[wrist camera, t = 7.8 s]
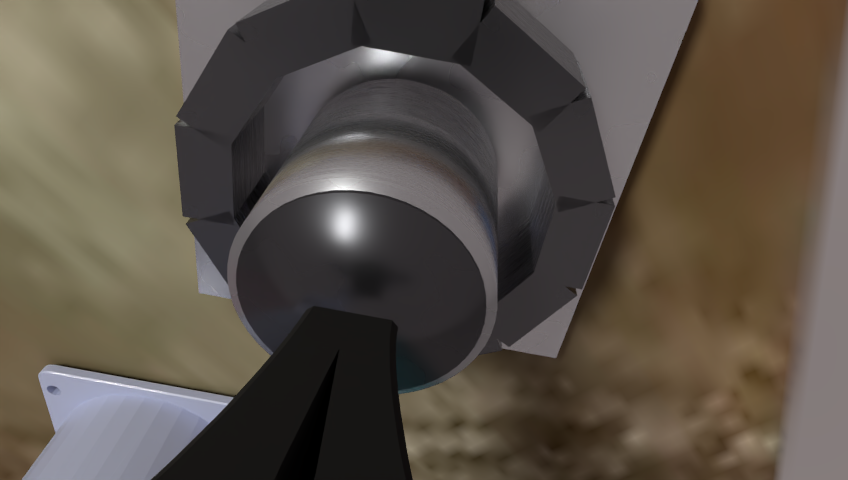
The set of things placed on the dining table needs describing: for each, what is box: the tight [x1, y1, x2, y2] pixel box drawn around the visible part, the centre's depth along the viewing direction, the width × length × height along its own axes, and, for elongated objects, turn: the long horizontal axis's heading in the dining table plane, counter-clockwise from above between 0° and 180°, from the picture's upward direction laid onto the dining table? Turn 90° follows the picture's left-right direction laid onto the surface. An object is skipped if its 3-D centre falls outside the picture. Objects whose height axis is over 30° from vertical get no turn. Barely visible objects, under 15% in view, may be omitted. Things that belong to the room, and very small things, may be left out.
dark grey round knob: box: [227, 79, 498, 394], centre depth 13 cm, size 5×5×5 cm
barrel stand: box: [175, 0, 698, 358], centre depth 15 cm, size 11×11×3 cm
